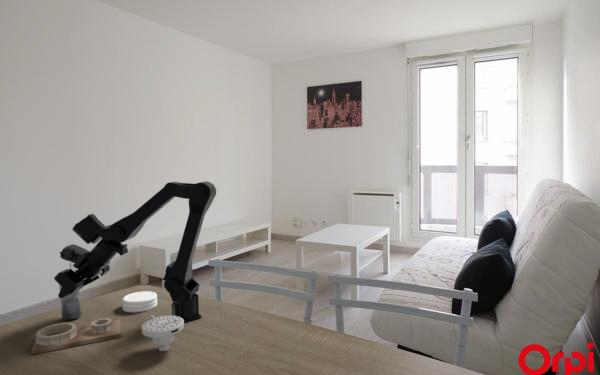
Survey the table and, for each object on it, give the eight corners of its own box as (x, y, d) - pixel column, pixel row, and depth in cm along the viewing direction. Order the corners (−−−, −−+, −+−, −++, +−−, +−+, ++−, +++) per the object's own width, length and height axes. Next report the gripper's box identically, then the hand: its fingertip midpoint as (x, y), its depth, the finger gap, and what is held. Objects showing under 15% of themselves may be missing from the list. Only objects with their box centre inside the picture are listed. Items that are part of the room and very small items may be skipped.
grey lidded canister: (79, 311, 116) (76, 269, 115) (83, 316, 112) (80, 273, 111) (59, 316, 113) (56, 273, 112) (62, 321, 109) (59, 277, 108)
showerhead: (167, 308, 100) (191, 317, 94) (168, 336, 100) (192, 346, 94) (131, 320, 92) (156, 331, 86) (133, 350, 93) (157, 363, 87)
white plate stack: (163, 302, 125) (163, 291, 125) (144, 314, 115) (144, 302, 115) (136, 300, 127) (135, 289, 127) (115, 312, 117) (114, 300, 117)
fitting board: (120, 322, 109) (119, 312, 109) (121, 337, 100) (120, 325, 100) (38, 337, 101) (38, 325, 100) (32, 354, 92) (31, 341, 91)
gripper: (97, 229, 120) (64, 265, 121) (59, 242, 102) (20, 285, 103) (124, 254, 121) (91, 290, 122) (91, 271, 102) (52, 314, 103)
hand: (65, 294), depth 112 cm, fingers closed on grey lidded canister, 5 cm apart
